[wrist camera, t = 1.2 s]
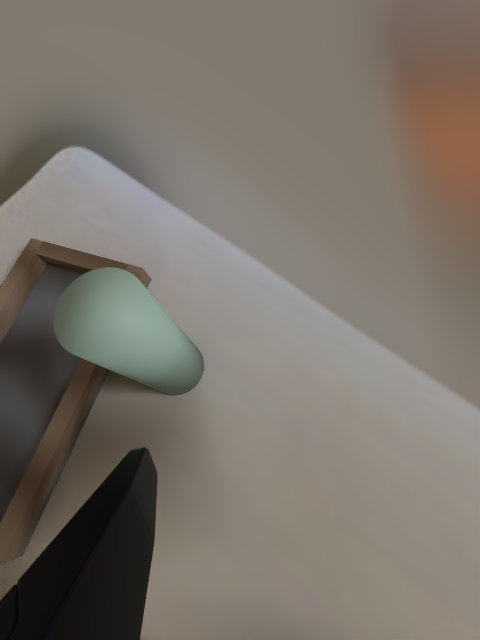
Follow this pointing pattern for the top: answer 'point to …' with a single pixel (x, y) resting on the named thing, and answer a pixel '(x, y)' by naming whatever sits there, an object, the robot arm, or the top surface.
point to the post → (126, 331)
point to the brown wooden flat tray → (40, 385)
